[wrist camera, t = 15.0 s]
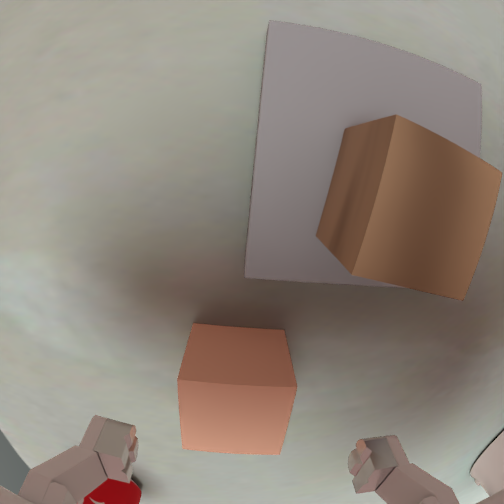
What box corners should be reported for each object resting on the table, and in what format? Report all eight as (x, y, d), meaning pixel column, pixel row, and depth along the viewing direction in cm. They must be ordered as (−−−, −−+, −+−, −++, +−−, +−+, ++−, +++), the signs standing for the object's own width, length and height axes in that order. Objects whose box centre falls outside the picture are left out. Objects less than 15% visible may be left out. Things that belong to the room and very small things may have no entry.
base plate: (466, 87, 13) (481, 84, 12) (441, 280, 16) (455, 289, 15) (266, 32, 12) (269, 20, 11) (244, 266, 16) (244, 277, 14)
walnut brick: (433, 165, 13) (502, 172, 8) (405, 260, 14) (463, 300, 9) (344, 128, 12) (396, 114, 8) (315, 235, 14) (351, 274, 9)
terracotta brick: (284, 329, 17) (297, 387, 12) (272, 394, 18) (279, 454, 13) (193, 322, 17) (177, 379, 12) (193, 389, 18) (182, 448, 13)
